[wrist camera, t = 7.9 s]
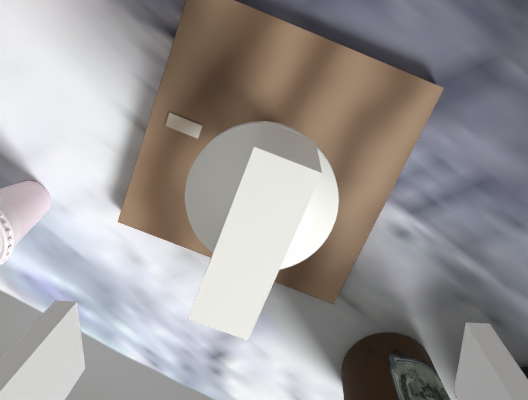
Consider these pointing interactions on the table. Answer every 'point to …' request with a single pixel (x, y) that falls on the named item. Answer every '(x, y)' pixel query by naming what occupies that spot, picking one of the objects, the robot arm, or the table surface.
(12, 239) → the smoothie
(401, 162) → the post board
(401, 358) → the olive oil
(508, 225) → the table surface
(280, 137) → the cap
